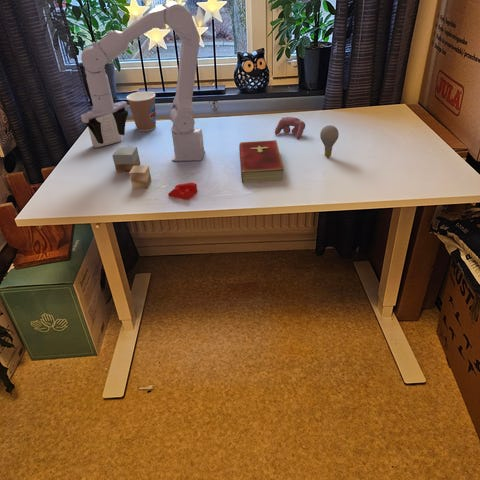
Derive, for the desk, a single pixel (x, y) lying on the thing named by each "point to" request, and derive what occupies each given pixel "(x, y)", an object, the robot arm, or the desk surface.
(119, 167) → the walnut base block
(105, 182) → the desk surface
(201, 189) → the desk surface
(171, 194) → the bracket
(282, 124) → the brown arched piece
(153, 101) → the coffee cup
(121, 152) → the slate-grey top block
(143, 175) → the birch block
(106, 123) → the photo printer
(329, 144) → the light bulb
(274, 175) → the hardcover book
